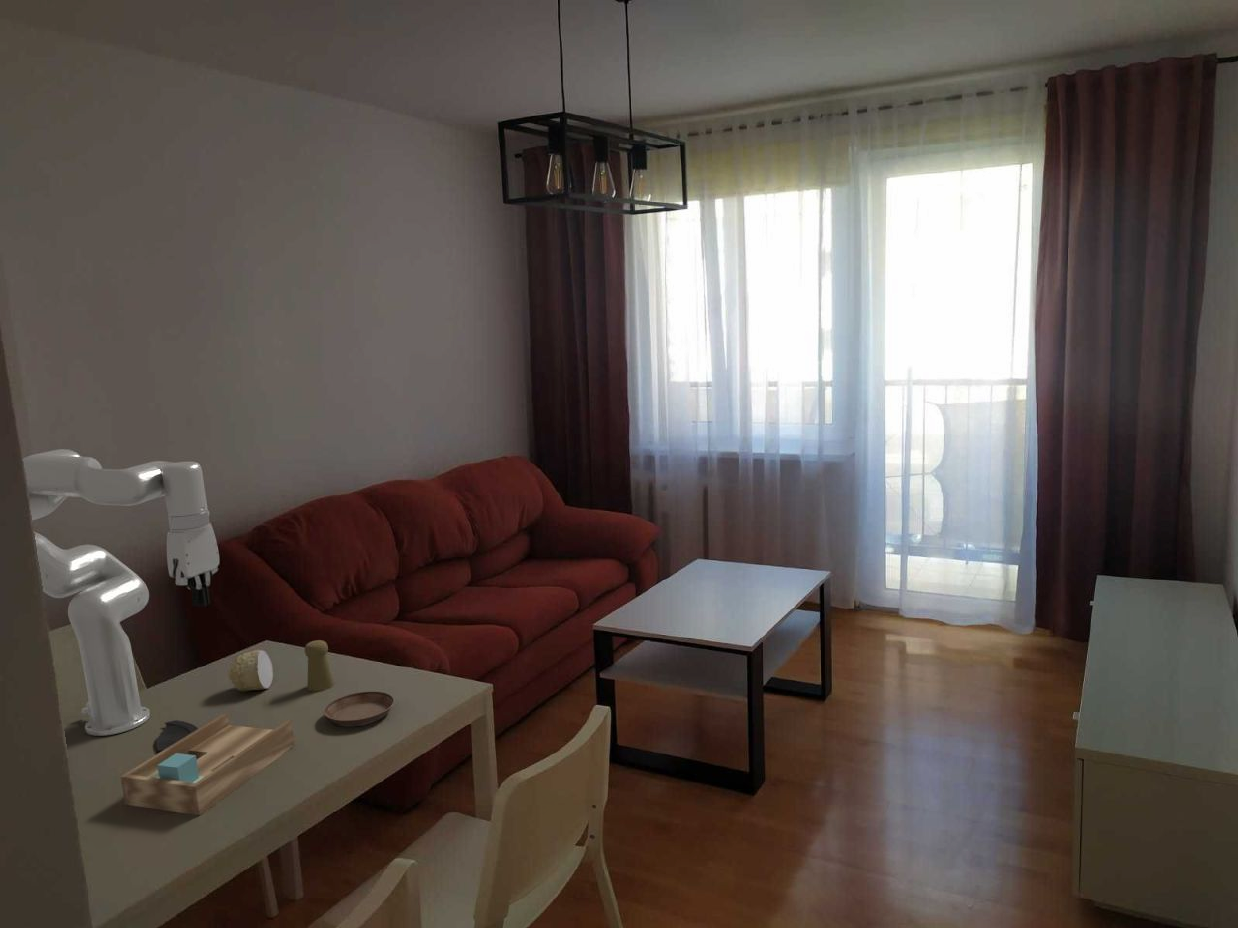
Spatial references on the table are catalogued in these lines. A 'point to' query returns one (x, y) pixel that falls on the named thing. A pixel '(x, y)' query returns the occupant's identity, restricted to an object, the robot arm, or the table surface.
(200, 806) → the box
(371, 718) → the saucer
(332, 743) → the table surface
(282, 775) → the table surface
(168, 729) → the fan shaped piece
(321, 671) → the cork
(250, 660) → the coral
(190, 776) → the teal block
